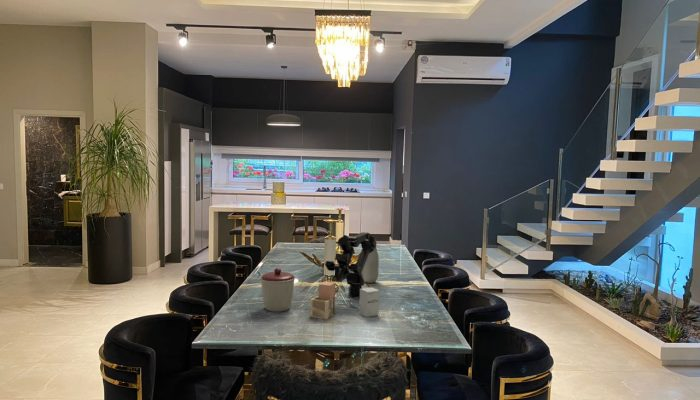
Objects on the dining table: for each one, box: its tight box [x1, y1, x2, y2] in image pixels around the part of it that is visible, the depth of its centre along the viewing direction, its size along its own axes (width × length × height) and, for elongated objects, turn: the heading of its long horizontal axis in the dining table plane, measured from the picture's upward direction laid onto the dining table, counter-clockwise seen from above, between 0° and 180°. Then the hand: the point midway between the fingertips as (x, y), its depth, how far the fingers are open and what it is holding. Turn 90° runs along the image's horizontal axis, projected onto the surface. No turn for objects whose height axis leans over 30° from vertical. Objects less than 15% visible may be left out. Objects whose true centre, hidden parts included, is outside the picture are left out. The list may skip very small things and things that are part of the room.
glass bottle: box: [362, 246, 380, 284], centre depth 310 cm, size 10×10×28 cm
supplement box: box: [358, 286, 380, 318], centre depth 248 cm, size 7×7×13 cm
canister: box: [259, 267, 296, 313], centre depth 254 cm, size 18×18×21 cm
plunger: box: [318, 281, 336, 311], centre depth 249 cm, size 6×6×14 cm
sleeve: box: [309, 295, 335, 320], centre depth 245 cm, size 8×9×9 cm
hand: (337, 280), depth 260 cm, fingers closed
